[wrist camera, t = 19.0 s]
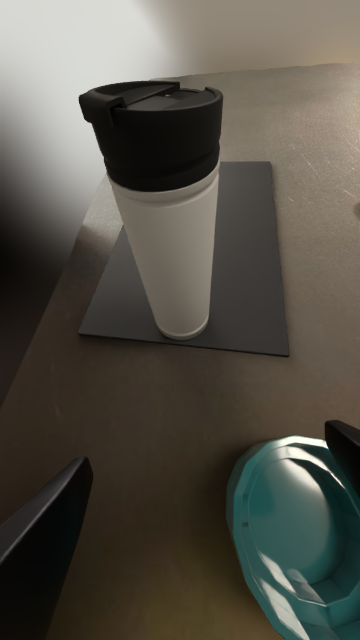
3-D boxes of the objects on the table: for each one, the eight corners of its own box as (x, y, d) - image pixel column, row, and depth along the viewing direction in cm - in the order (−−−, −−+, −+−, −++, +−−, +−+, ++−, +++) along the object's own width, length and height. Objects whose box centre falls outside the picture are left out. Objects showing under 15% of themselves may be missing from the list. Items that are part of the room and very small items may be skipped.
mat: (288, 357, 24) (289, 355, 23) (79, 334, 27) (77, 333, 27) (269, 163, 43) (269, 161, 43) (149, 164, 47) (149, 162, 46)
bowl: (380, 629, 14) (459, 706, 10) (221, 589, 16) (230, 641, 11) (346, 449, 19) (388, 449, 15) (227, 431, 21) (235, 426, 16)
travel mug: (143, 323, 27) (42, 89, 9) (178, 288, 29) (149, 49, 12) (183, 354, 24) (146, 116, 7) (219, 313, 27) (255, 59, 9)
